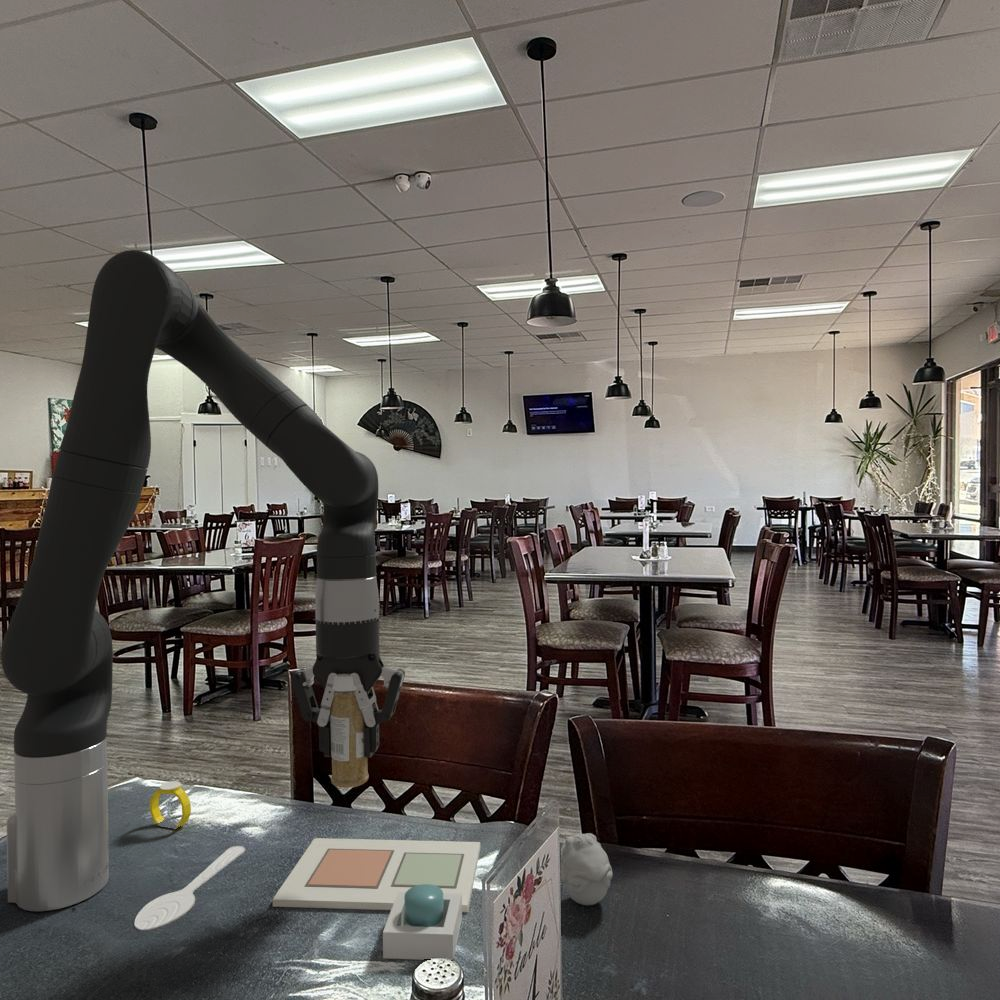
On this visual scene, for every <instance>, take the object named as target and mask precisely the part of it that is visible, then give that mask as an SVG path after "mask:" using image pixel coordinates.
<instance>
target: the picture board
mask: <svg viewBox="0 0 1000 1000" xmlns="http://www.w3.org/2000/svg"><path fill="white" fill-rule="evenodd" d="M480 853H481V842H480V841H450V840H449V841H448V840H443V841H442V840H415V839H414V840H410V839H409V840H408V839H407V840H406V839H370V838H369V839H368V838H367V839H366V838H365V839H364V838H363V839H361V838H323V837H322V838H320V837H319V838H318V837H316V838H314V839H312V841H311V843H310V844H309V846H308V847H307V849H306V850H305V852H304V853H303V854H302V856H301V857H300V859H299V860H298V861H297V862H296V864H295V866H294V867H293V869H292V870H291V872H290V873H289V875H288V876H287V878H286V879H285V880H284V882H283V884H282V885H281V887H280V888H279V889H278V891H277V892H276V894H275V895H274V897H273V898H272V907H276V908H277V907H280V908H282V907H283V908H306V909H308V908H309V909H311V908H313V909H314V908H315V909H337V910H338V909H342V910H343V909H345V910H373V911H375V910H376V911H377V910H379V911H391V910H392V907H393V904H394V902H395V899H396V896H397V894H398V892H407V891H408V890H409V889H410V888H412V887H414V886H417V885H422V884H430V885H435V886H437V887H439V888H441V890H442V891H443V893H444V894H462V913H468V912H469V909H470V908H469V907H470V905H471V904H470V903H471V898H472V892H473V889H474V888H473V887H474V882H475V878H476V872H477V868H478V864H479V863H478V862H479V857H480Z"/></svg>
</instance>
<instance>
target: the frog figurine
mask: <svg viewBox="0 0 1000 1000" xmlns="http://www.w3.org/2000/svg"><path fill="white" fill-rule="evenodd" d="M560 850H561V876H560V881H561V883H562V884H563V887H564V889H565V890H566V893H567V894H568V895H569V897H570V898H571V899H572V900H573V901H574V902H576V903H577V904H579V905H582V906H593V905H596V904H598V903H599V902H600V901H602V899H604V897H605V896H606V894H607V891H608V889H609V888H610V887H611V880H612V878H613V874H614V873H613V869H612V866H611V864H610V861H609V857H608V854H607V853H606V851H605V850H604V848H603V847H602V845H601V843H600V842H598V841H597V836H596V835H594V834H593V833H591V832H589V833H588V832H587V833H576V834H574V835H573V836H572V835H570V836H567V837H566V839H565V841H564V843H563V845H562V847H561V848H560Z"/></svg>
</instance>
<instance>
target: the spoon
mask: <svg viewBox="0 0 1000 1000" xmlns="http://www.w3.org/2000/svg"><path fill="white" fill-rule="evenodd" d="M245 851H246V847H245V846H243V845H235V846H230V847H229V848H227V849H226V850H225V851H224V852H223V853H222V854H221V855H219V857H217V858H216V859H215V860H214V861H212V863H211V864H209V866H206V868H205V870H203V871H201V873H199V875H198V876H196V877H194V879H192V881H191V882H189V883H188V884H187V885H186V886H185V887H184V888H182V889H179V890H176V891H173V892H170V893H169V892H168V893H166V894H163V895H160V896H158V897H156V898H154V899H152V900H151V901H149V902H148V903H147V904H146V905H144V906H143V907H142V908H141V909H140V910H139V912H138V913H137V915H136V916H135V919H134V924H133V925H134V927H135V929H136V930H138V931H150V930H155V929H158V928H160V927H164V926H166V925H168V924H170V923H172V922H174V921H177V919H179V918H181V917H182V916H184V915H185V914H187V913H188V912H189V911H190V910H191V909H192V908H193V907H194V905H195V902H196V896H195V894H194V892H195V891H196V890H197V889H198V888H199V887H201V886H202V885H203V884H204V883H206V882H207V881H209V880H211V878H213V877H214V876H216V875H217V874H218V873H219V872H220V871H222V870H223V869H224V868H225V867H227V866H228V865H229V864H230V863H232V862H233V861H235V860H236V859H237V858H239V856H241V855H242V854H244V852H245Z"/></svg>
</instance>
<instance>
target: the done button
mask: <svg viewBox="0 0 1000 1000" xmlns="http://www.w3.org/2000/svg"><path fill="white" fill-rule="evenodd" d="M404 899H405V921H406V923H407V924H409V925H410V926H419V927H431V926H434V925H436V924H438V923H439V922H440V921H441V920H442V919H443V891H442V890H441V888H439V887H437V886H435V885H430V884H422V885H417V886H414V887H412V888H410V889H409V890H408V891H407V892H406V893H405V896H404Z"/></svg>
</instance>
